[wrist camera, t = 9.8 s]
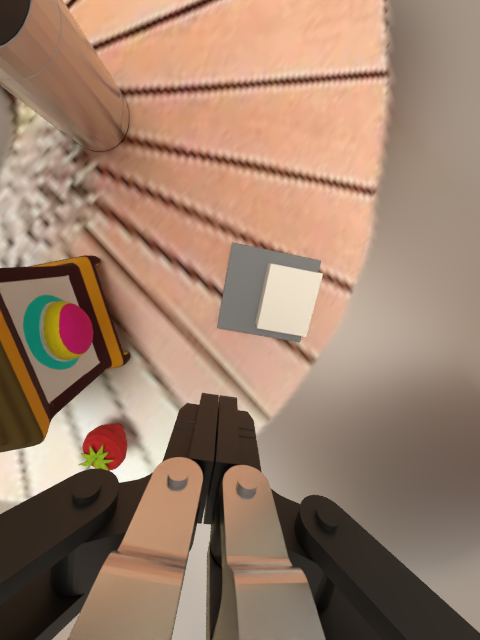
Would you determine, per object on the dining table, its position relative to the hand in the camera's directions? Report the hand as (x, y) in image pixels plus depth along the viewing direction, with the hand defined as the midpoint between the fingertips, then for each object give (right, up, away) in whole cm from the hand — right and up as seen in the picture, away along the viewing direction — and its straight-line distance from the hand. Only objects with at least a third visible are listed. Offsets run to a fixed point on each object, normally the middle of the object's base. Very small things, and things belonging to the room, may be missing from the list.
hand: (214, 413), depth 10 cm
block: (+5, +8, +28) cm, 29 cm away
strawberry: (-21, -16, +35) cm, 44 cm away
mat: (+6, +8, +30) cm, 32 cm away
